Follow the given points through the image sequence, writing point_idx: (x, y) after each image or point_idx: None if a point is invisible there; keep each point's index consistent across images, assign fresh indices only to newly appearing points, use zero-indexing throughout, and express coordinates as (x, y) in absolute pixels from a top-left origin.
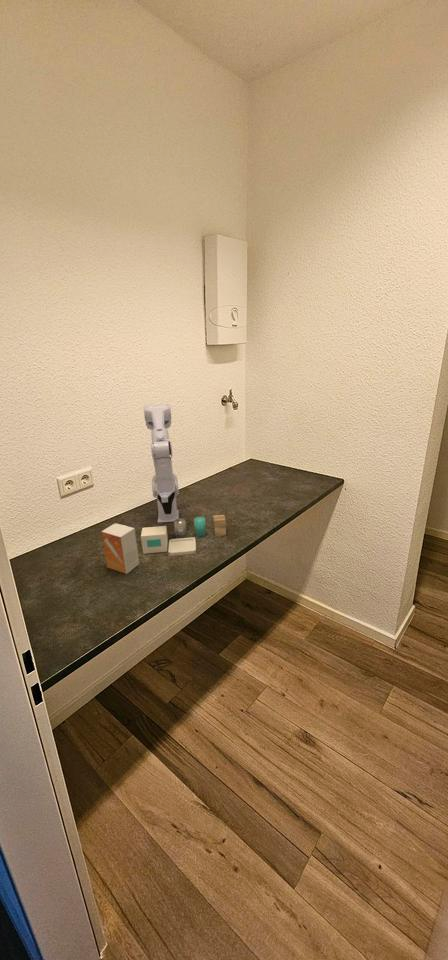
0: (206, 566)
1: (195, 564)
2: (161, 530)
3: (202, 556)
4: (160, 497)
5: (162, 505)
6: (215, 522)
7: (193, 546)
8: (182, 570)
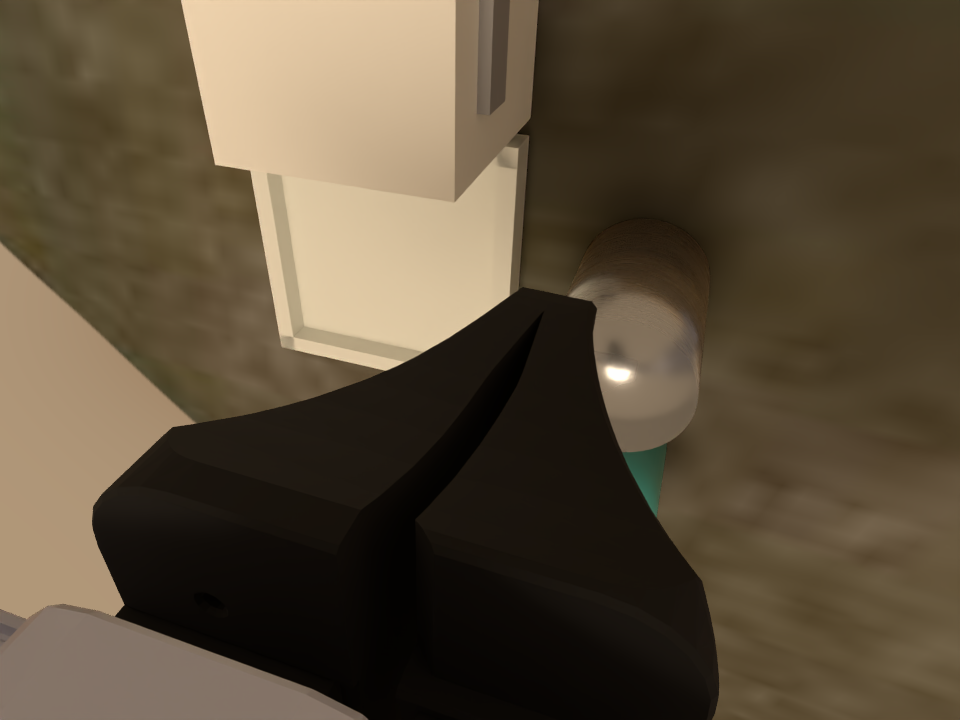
0: (153, 349)
1: (165, 292)
2: (316, 116)
3: (264, 359)
4: (115, 555)
5: (379, 380)
6: None
7: (385, 340)
8: (83, 192)
